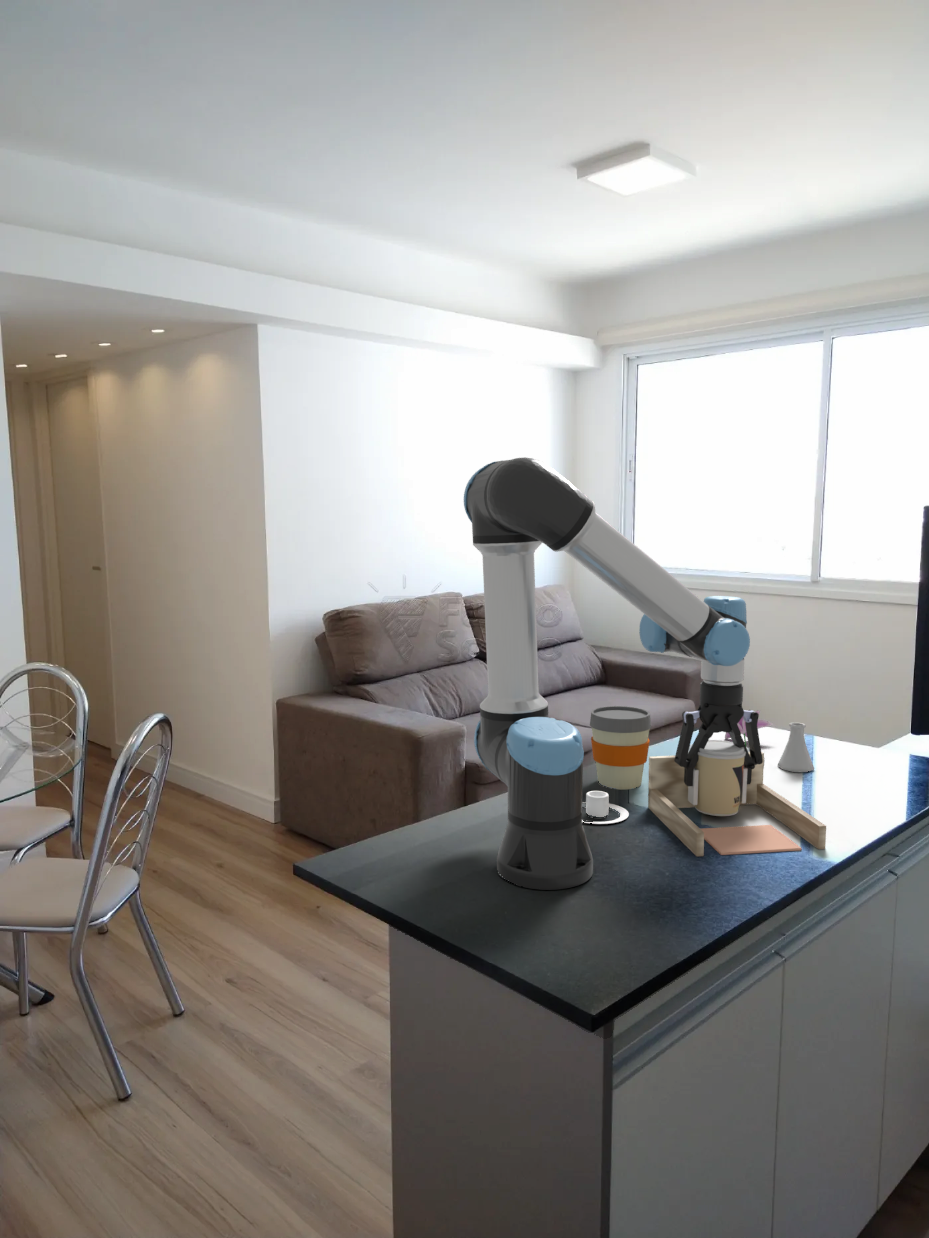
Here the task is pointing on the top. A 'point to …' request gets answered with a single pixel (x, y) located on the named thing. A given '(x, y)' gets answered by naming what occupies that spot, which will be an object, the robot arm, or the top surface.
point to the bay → (673, 794)
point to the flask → (796, 751)
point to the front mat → (748, 840)
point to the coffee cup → (719, 778)
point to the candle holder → (602, 807)
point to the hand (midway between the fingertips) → (716, 801)
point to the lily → (742, 726)
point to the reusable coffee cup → (620, 745)
